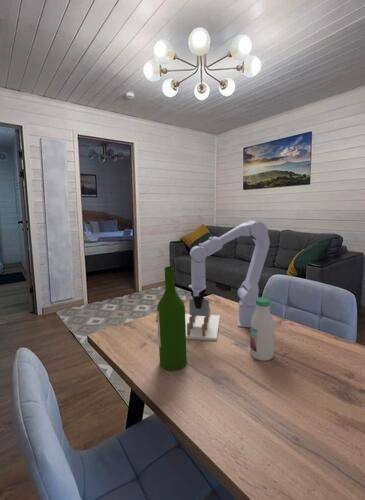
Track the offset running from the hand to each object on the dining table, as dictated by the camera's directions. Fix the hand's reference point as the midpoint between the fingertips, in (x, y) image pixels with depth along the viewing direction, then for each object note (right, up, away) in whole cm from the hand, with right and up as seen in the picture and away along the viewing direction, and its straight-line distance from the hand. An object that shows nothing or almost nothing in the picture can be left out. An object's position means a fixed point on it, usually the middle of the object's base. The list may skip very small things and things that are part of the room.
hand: (199, 306), depth 113 cm
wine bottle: (-10, -14, -23) cm, 29 cm away
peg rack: (0, -9, +2) cm, 9 cm away
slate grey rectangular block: (0, -3, +1) cm, 3 cm away
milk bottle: (+20, -12, -21) cm, 31 cm away
